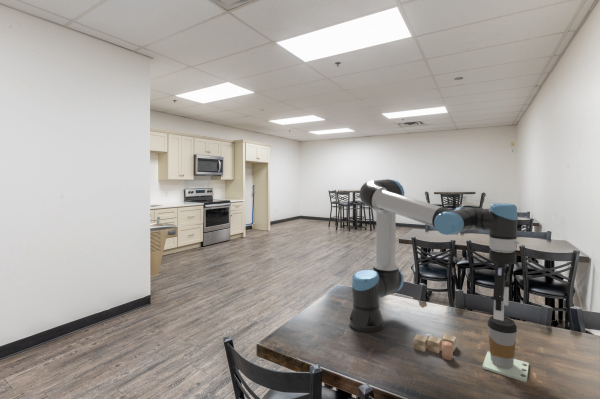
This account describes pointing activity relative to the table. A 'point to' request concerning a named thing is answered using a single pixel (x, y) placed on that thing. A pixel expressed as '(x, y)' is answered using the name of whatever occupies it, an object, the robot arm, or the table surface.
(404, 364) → the table surface
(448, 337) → the maple cube
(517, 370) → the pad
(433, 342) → the maple cube
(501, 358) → the coffee cup
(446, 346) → the pink rounded piece
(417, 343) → the maple cube
